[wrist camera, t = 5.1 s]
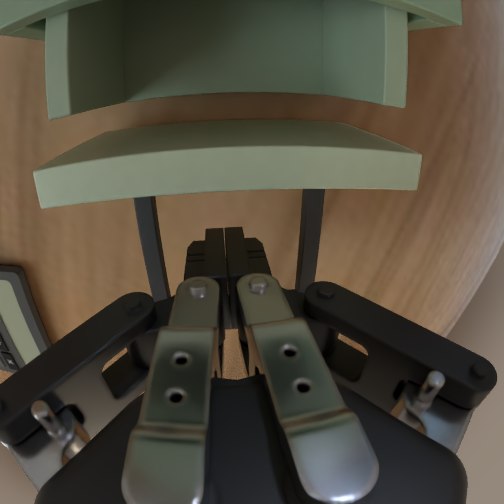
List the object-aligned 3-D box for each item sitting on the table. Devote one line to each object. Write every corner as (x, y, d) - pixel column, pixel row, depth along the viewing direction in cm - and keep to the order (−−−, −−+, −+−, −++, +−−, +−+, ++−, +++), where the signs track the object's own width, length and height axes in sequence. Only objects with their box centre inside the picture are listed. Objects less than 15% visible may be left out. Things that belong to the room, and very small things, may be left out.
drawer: (328, 253, 18) (378, 336, 12) (127, 264, 16) (95, 356, 11) (338, -76, 8) (401, -131, 2) (109, -73, 7) (60, -132, 1)
